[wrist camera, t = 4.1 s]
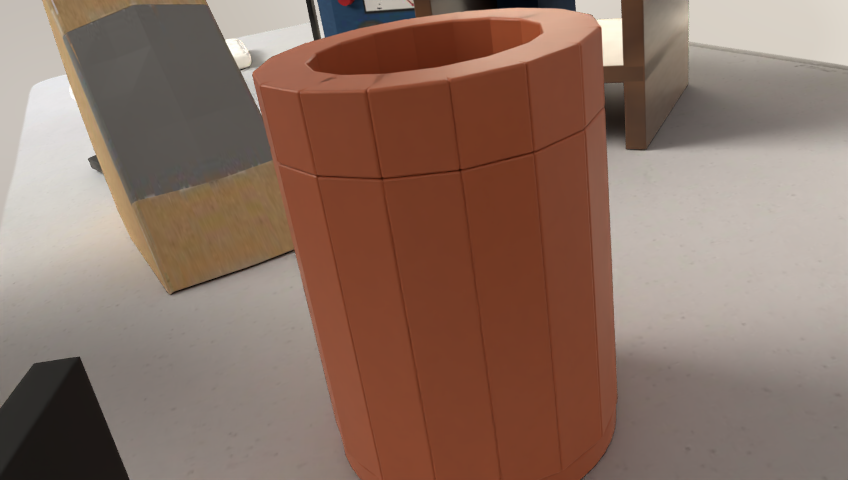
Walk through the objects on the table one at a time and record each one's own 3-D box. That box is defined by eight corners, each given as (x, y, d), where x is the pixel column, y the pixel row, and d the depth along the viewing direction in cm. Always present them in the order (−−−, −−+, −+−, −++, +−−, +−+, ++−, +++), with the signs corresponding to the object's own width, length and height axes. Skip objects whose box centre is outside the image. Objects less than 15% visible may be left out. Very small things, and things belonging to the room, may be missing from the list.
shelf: (433, 145, 50) (408, -26, 46) (509, 87, 61) (495, -56, 57) (646, 149, 44) (642, -50, 39) (688, 84, 55) (689, -78, 50)
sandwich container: (164, 298, 35) (52, -36, 29) (112, 210, 48) (26, -37, 42) (329, 239, 39) (261, -72, 33) (241, 171, 51) (179, -63, 45)
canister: (289, 475, 23) (179, 93, 18) (419, 325, 30) (366, 17, 25) (566, 554, 19) (525, 87, 14) (644, 358, 26) (635, -2, 21)
